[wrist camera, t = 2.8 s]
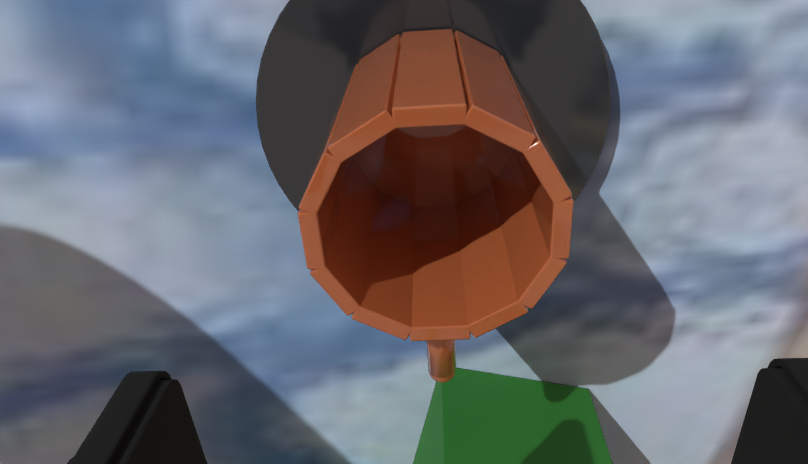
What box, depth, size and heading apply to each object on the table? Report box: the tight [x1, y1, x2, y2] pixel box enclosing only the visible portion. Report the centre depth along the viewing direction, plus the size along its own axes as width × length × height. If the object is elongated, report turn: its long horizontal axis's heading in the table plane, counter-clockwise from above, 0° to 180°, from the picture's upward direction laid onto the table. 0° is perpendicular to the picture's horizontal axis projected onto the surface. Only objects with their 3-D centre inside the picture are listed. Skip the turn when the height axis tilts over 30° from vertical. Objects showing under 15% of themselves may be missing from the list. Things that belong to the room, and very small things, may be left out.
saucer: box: [256, 0, 611, 211], centre depth 23 cm, size 13×13×1 cm
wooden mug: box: [298, 29, 574, 383], centre depth 19 cm, size 10×7×8 cm
